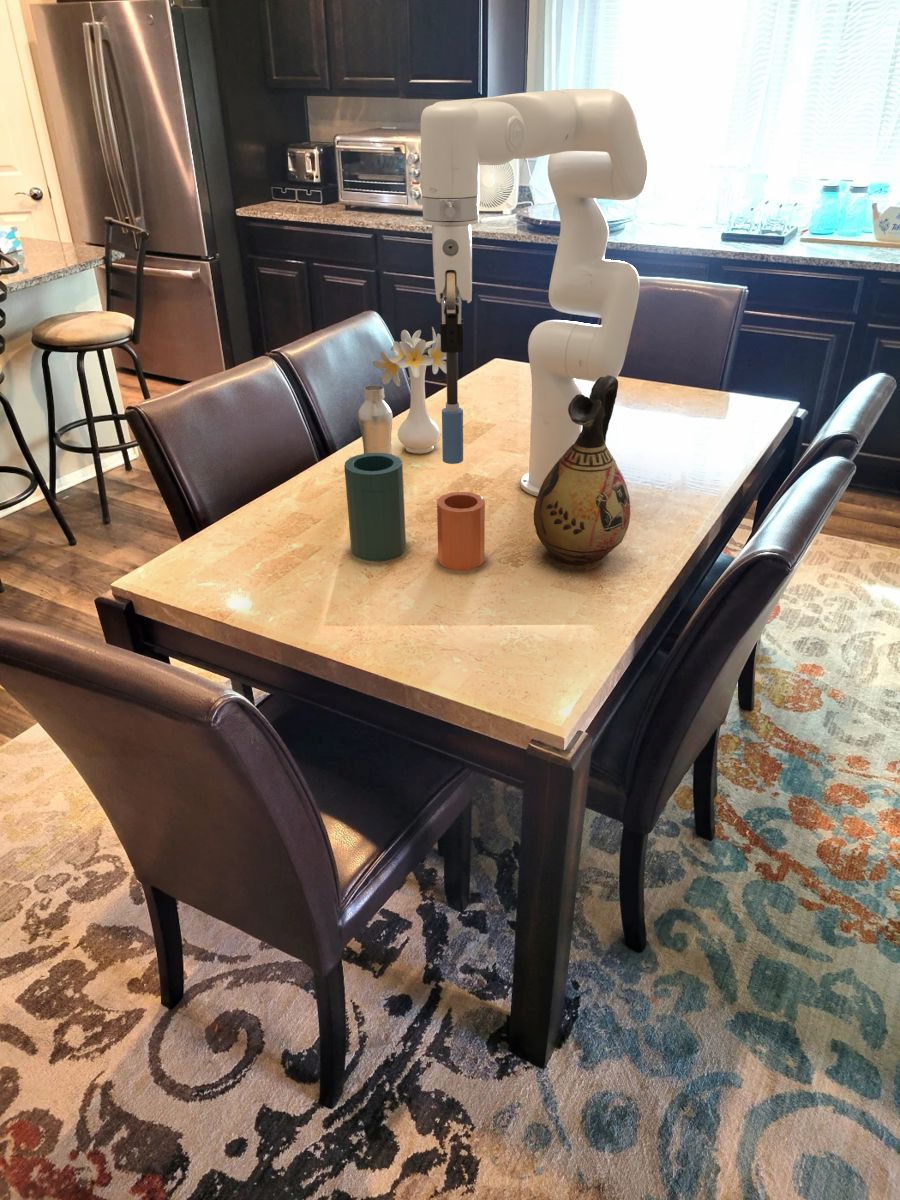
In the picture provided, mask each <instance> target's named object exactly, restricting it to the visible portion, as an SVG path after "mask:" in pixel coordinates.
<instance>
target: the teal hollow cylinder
mask: <svg viewBox="0 0 900 1200" xmlns="http://www.w3.org/2000/svg"><path fill="white" fill-rule="evenodd" d="M403 465H404V464H403V460H402V459H401V458H400V457H399V456H397V455H394V454H393V453H392V454H387V453H366V454H364V453H362V454H357V455H354V456H352V457H349V458H348V459H347V460H346V461H345V462H344V478H345V489H346V503H347V504H346V505H347V514H348V515H347V516H348V527H349V529H348V530H349V540H350V549H351V553H352V555H353V556H354V557H355V558H357V559H359V560H363V561H365V562H386V561H392V560H394V559H397V558H399V557H400V556H402V555H403V554H404V553H405V552H406V550H407V537H406V536H407V534H406V533H407V532H406V514H405V513H406V512H405V490H404V467H403Z"/></svg>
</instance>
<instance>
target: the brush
mask: <svg viewBox="0 0 900 1200" xmlns="http://www.w3.org/2000/svg"><path fill="white" fill-rule="evenodd" d="M445 360H446V361H445V362H446V367H447V374H446V402H445V407H444V408H442V409H441V445H442V450H441V451H442V452H441V453H442V462H443V463H444V464H449V465H457V464H461V463H462V462H463V461H464V409H463V408H461V407H460V402H459V401H458V399H459V397H458V396H459V395H458V394H459V393H458V392H459V390H458V386H459V385H458V384H459V383H458V382H459V381H458V353H446V359H445Z"/></svg>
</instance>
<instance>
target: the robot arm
mask: <svg viewBox="0 0 900 1200" xmlns="http://www.w3.org/2000/svg"><path fill="white" fill-rule="evenodd" d="M420 155H421V157H420V158H421V160H420V161H421V195H422V197H421V199H422V200H421V201H422V224H423V225H426V226H431V239H432V240H431V241H432V266H433V267H432V268H433V279H434V290H435V296H436V297H435V298H436V302H438V303H439V304H440V305H441V319H440V323H439V324H440V325H439V326H440V327H439V329H440V336H441V352H443V353H457V354H458V353H459V354H460V353H463V352H464V318H462V304H463V303H462V301H466V304H470V303H471V302H472V301H473V300H472V299H473V298H472V296H473V238H472V237H473V235H472V226H474V225H476V224H479V223H480V218H479V216H480V166H501V165H505V164H508V163H509V162H511V161H514V160H520V159H521V160H523V159H524V160H525V159H535V158H540V157H544V156H548V155H549V156H548V160H547V176H548V181H549V185H550V187H551V190H552V193H553V196H554V200H555V203H556V206H557V210H558V215H559V221H560V222H559V223H560V225H559V226H560V230H559V236H558V241H557V247H556V250H555V251H556V252H555V255H554V261H553V266H552V271H551V277H550V281H549V287H548V300H549V304H550V306H551V308H553V309H554V310H556V311H558V312H560V313H565V314H570V315H577V316H584V317H592V318H599V319H601V323H600V325H599V324H591V323H584V322H579V321H570V320H561V319H549V320H545V321H542V322H540V323H538V324H537V325H536V326H535V327H534V328H533V329H532V331H531V332H530V335H529V336H528V337H529V338H528V343H527V353H528V361H529V367H530V375H531V407H530V408H531V409H530V434H529V435H530V436H529V437H530V438H529V457H528V458H529V459H528V460H529V461H528V472H527V473H525V474H524V475H522V477H521V478H520V488H521V489H522V490H523V491H524V492H525V493H527V494H530V495H532V496H535V497H537V496H538V493H539V491H540V488H541V486H542V483H543V481H544V480H545V478H546V476H547V475H548V473H549V472H550V471H551V469H552V468H553V467H554V465H555V464H556V463H557V462H558V461H559V459H560V458H561V457H562V456H563V455H564V454H565V452H566V451H567V450H568V449H569V448H570V447H571V446H572V445H573V444H574V443H575V442H576V440H577V438H578V437H579V434H580V433H581V431H582V425H579V424H576V423H574V422H573V421H572V420H571V418H570V416H569V413H568V407H569V404H570V403H571V401H572V399H573V398H574V397H575V396H576V395H578V394H582V395H583V393H582V390H581V387H580V385H579V383H578V381H577V380H581V381H586V382H587V381H588V382H593V383H595V382H596V381H597V380H598V379H599V378H600V377H606V376H607V375H610V376H613V377H615V378H616V379H618V376H619V375H620V374H621V371H622V369H623V366H624V363H625V360H626V356H627V351H628V347H629V343H630V339H631V334H632V330H633V326H634V321H635V316H636V312H637V309H638V303H639V297H640V287H641V285H640V276H639V273H638V271H637V269H636V268H635V266H633V265H632V264H630V263H629V262H625V261H621V260H613V259H612V260H611V259H605V256H606V253H607V252H606V251H607V247H608V242H609V236H610V230H609V229H610V228H609V225H608V222H607V219H606V216H605V214H604V212H603V210H602V208H601V207H600V205H599V203H598V201H597V200H609V201H610V200H611V201H631V200H632V199H635V198H637V197H639V196H640V195H641V193H642V192H643V190H644V189H645V187H646V185H647V183H648V178H649V171H650V164H649V155H648V151H647V148H646V146H645V142H644V139H643V136H642V133H641V129H640V126H639V123H638V120H637V118H636V114H635V113H634V110H633V108H632V106H631V104H630V102H629V100H628V99H627V98H626V96H625V94H624V93H622V92H621V91H619V90H618V89H615V88H565V89H563V88H561V89H553V90H552V89H551V90H543V91H529V92H527V91H526V92H517V93H510V94H503V95H496V96H489V97H478V98H466V99H453V100H442V101H437V102H435V103H434V104H431V105H428V106H426V107H425V108H424V109H423V110H422V112H421V114H420Z"/></svg>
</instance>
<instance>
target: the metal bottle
mask: <svg viewBox="0 0 900 1200" xmlns="http://www.w3.org/2000/svg"><path fill="white" fill-rule="evenodd" d="M385 395H386V394H385V386H383V385H379V384H369V385H365V386H364V387H363V399H364V402H363V403H362V404H361V406H360V407H359V410H358V413H357V420H358V424H359V430H360V434H361V441H362V447H363V454H366V453H387V454H392V455H393V449H392V431H393V417H394V416H393V412H392V409H391V408H390V406H389V405H388V403H387V402H386V401H385V400H384V399H385V397H386V396H385Z"/></svg>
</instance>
